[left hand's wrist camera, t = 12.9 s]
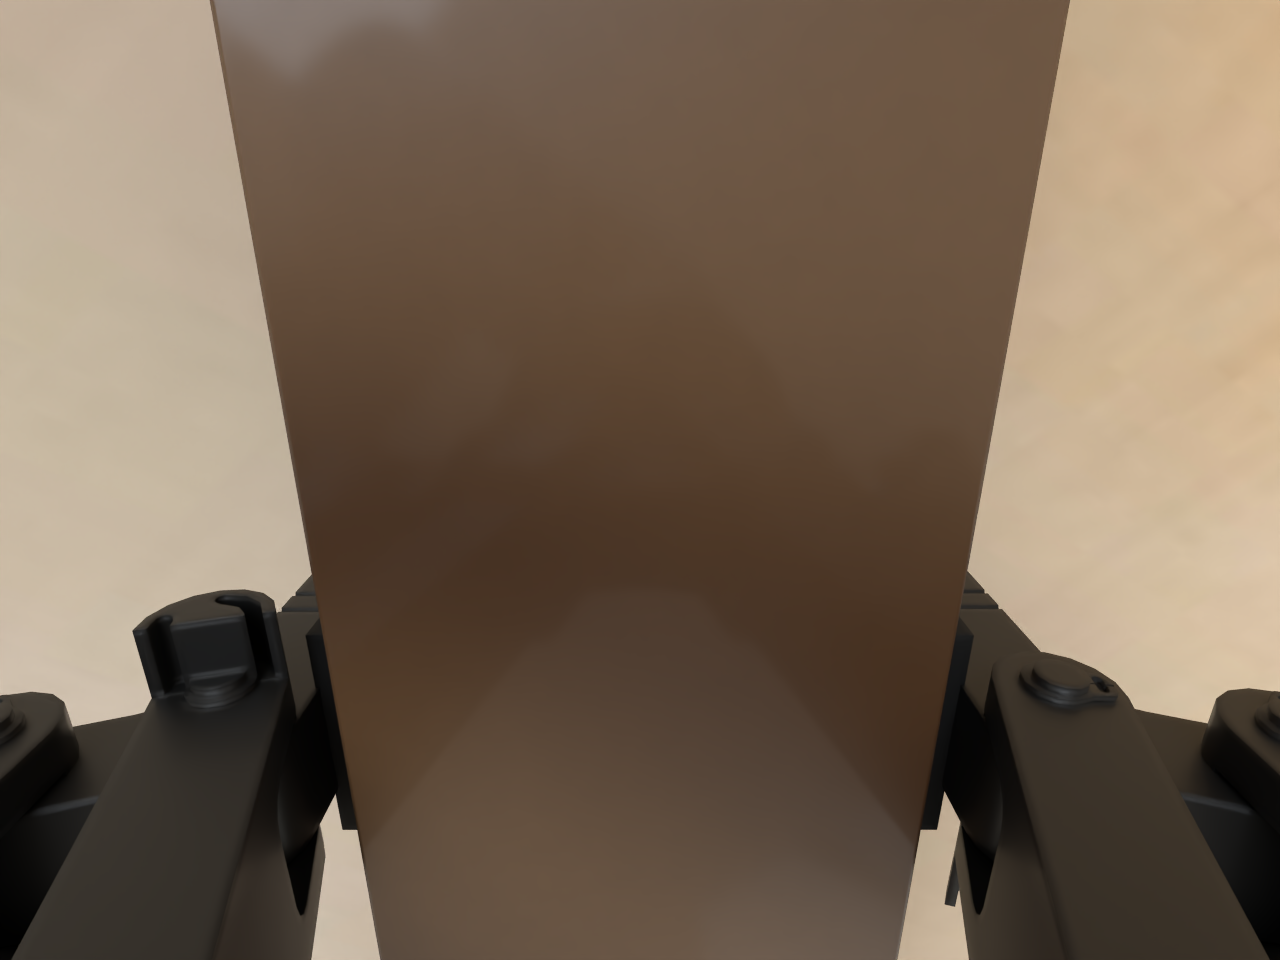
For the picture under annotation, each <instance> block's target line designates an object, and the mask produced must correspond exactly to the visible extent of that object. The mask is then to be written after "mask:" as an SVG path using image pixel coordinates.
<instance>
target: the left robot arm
mask: <svg viewBox="0 0 1280 960" xmlns="http://www.w3.org/2000/svg"><path fill="white" fill-rule="evenodd" d="M133 635H134V638H135V642H136V645H137V649H138V652H139V655H140V659H141V662H142V666H143V669H144V673H145V676H146V680H147V683H148V686H149V690H150V693H151V697H152V699H151V701H150V703H149V705H148V706H147V708H146V710H145V712H144V713H140V714H136V715H132V716H127V717H121V718H116V719H111V720H106V721H101V722H96V723H91V724H85V725H80V726H75V727H73V726H72V724H71V721H70V718H69V715H68V712H67V709H66V706H65V703H64V702H63V701H62V700H60V699H59V698H58V697H56V696H55V695H53V694H47V693H37V692H27V693H20V694H12V695H1V696H0V960H311V957H312V950H313V943H314V935H315V928H316V921H317V914H318V906H319V899H320V892H321V885H322V877H323V870H324V863H325V850H324V842H323V837H322V832H321V827H320V823H321V821H322V819H323V817H324V815H325V813H326V811H327V809H328V807H329V805H330V803H331V802H332V800H333V798H334V796H335V794H336V798H337V803H338V808H339V814H340V819H341V824H342V829H343V830H357V825H356V819H355V814H354V808H353V802H352V797H351V791H350V785H349V780H348V774H347V769H346V763H345V757H344V752H343V746H342V740H341V735H340V729H339V724H338V718H337V712H336V707H335V701H334V695H333V690H332V684H331V679H330V673H329V667H328V662H327V656H326V651H325V645H324V639H323V634H322V628H321V622H320V617H319V611H318V606H317V600H316V594H315V589H314V583H313V577H312V575H311V576H310V577H309V578H308V579H307V580H306V582H305V583H304V584H303V585H302V586H301V587H300V588H299V589H298V590H297V592H296V596H292V597H291V598H290V599H289V600H288V602H287V603H286V604H285V605H284V606H283V607H282V612H278V613H276V608H275V604H274V600H272V599H271V598H270V597H268V596H267V595H265V594H264V593H261V592H255V591H250V590H223V591H216V592H211V593H206V594H201V595H197V596H193V597H190V598H187V599H184V600H181V601H179V602H176V603H173V604H170V605H168V606H166V607H164V608H162V609H160V610H159V611H157V612H155V613H153V614H152V615H150V616H148V617H146V618H145V619H144V620H143V621H142V622H141V623H140V624H139V625H138V626H137V627H136V628H135V629H134V630H133ZM944 791H945V793H946V795H947V797H948V799H949V801H950V802H951V804H952V806H953V808H954V810H955V812H956V814H957V816H958V818H959V820H960V827H959V832H958V837H957V842H956V847H955V852H954V856H953V861H952V866H951V871H950V876H949V881H948V886H947V891H946V899H945V904H946V905H950V906H954V907H955V904H956V899H957V895H958V891H959V890H960V897H961V905H962V912H963V919H964V926H965V934H966V941H967V948H968V955H969V960H1280V692H1278V691H1265V690H1257V689H1250V688H1248V689H1238V690H1229V691H1226V692H1225V693H1224V694H1222V695H1221V696H1219V697H1218V698H1217V699H1216V701H1215V704H1214V707H1213V710H1212V713H1211V716H1210V719H1209V722H1208V724H1207V723H1202V722H1197V721H1192V720H1186V719H1181V718H1176V717H1171V716H1166V715H1160V714H1155V713H1150V712H1145V711H1141V710H1137V709H1134V707H1133V705H1132V703H1131V701H1130V700H1129V698H1128V696H1127V695H1126V694H1125V693H1124V692H1123V691H1122V689H1121V688H1120V687H1119V686H1118V685H1117V684H1116V682H1114V681H1113V680H1111V679H1110V678H1108V677H1107V676H1105V675H1104V674H1102V673H1101V672H1099V671H1097V670H1096V669H1094V668H1092V667H1089V666H1087V665H1085V664H1082V663H1080V662H1078V661H1075V660H1073V659H1070V658H1066V657H1062V656H1058V655H1054V654H1049V653H1045V652H1040V651H1039V650H1038V648H1037V647H1036V646H1035V645H1034V644H1033V643H1032V642H1031V641H1030V640H1029V639H1028V637H1027V636H1026V635H1025V634H1024V633H1023V632H1022V631H1021V630H1020V629H1019V627H1018V626H1017V625H1016V624H1015V623H1014V622H1013V621H1012V620H1011V619H1010V618H1009V616H1008V615H1007V614H1006V613H1005V612H1004V611H1003V610H1002V609H998V604H997V603H996V602H995V601H994V600H993V599H992V598H991V597H990V595H989V594H985V593H984V589H983V588H982V587H981V586H980V584H979V583H978V582H977V581H976V580H975V579H974V578H973V577H972V576H971V575H970V573H969V572H968V571H967V575H966V580H965V586H964V591H963V597H962V603H961V608H960V614H959V619H958V625H957V630H956V636H955V641H954V647H953V653H952V658H951V664H950V669H949V675H948V680H947V686H946V691H945V697H944V703H943V708H942V714H941V719H940V725H939V730H938V736H937V741H936V747H935V753H934V758H933V764H932V769H931V775H930V780H929V786H928V792H927V797H926V803H925V808H924V814H923V819H922V825H921V830H937V827H938V821H939V816H940V811H941V806H942V801H943V795H944Z"/></svg>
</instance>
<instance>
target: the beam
mask: <svg viewBox="0 0 1280 960" xmlns="http://www.w3.org/2000/svg"><path fill="white" fill-rule="evenodd" d="M1069 2H1070V0H210V4H211V10H212V15H213V21H214V26H215V32H216V38H217V43H218V49H219V55H220V60H221V66H222V71H223V77H224V83H225V88H226V94H227V100H228V105H229V111H230V116H231V122H232V128H233V133H234V139H235V145H236V150H237V156H238V161H239V167H240V173H241V178H242V184H243V189H244V195H245V201H246V206H247V212H248V218H249V223H250V229H251V234H252V240H253V246H254V251H255V257H256V263H257V268H258V274H259V279H260V285H261V291H262V296H263V302H264V308H265V313H266V319H267V324H268V330H269V336H270V341H271V347H272V353H273V358H274V364H275V369H276V375H277V381H278V386H279V392H280V398H281V403H282V409H283V414H284V420H285V426H286V431H287V437H288V442H289V448H290V454H291V459H292V465H293V471H294V476H295V482H296V487H297V493H298V499H299V504H300V510H301V516H302V521H303V527H304V532H305V538H306V544H307V549H308V555H309V561H310V566H311V572H312V577H313V583H314V589H315V594H316V600H317V606H318V611H319V617H320V622H321V628H322V634H323V639H324V645H325V651H326V656H327V662H328V667H329V673H330V679H331V684H332V690H333V695H334V701H335V707H336V712H337V718H338V724H339V729H340V735H341V740H342V746H343V752H344V757H345V763H346V769H347V774H348V780H349V785H350V791H351V797H352V802H353V808H354V814H355V819H356V825H357V830H358V836H359V842H360V847H361V853H362V859H363V864H364V870H365V875H366V881H367V887H368V892H369V898H370V903H371V909H372V915H373V920H374V926H375V932H376V937H377V943H378V948H379V954H380V960H897V958H898V953H899V947H900V942H901V936H902V930H903V925H904V919H905V914H906V908H907V903H908V897H909V892H910V886H911V880H912V875H913V869H914V864H915V858H916V853H917V847H918V842H919V836H920V830H921V825H922V819H923V814H924V808H925V803H926V797H927V792H928V786H929V780H930V775H931V769H932V764H933V758H934V753H935V747H936V741H937V736H938V730H939V725H940V719H941V714H942V708H943V703H944V697H945V691H946V686H947V680H948V675H949V669H950V664H951V658H952V653H953V647H954V641H955V636H956V630H957V625H958V619H959V614H960V608H961V603H962V597H963V591H964V586H965V580H966V575H967V569H968V564H969V558H970V553H971V547H972V541H973V536H974V530H975V525H976V519H977V514H978V508H979V502H980V497H981V491H982V486H983V480H984V475H985V469H986V464H987V458H988V452H989V447H990V441H991V436H992V430H993V425H994V419H995V414H996V408H997V402H998V397H999V391H1000V386H1001V380H1002V375H1003V369H1004V364H1005V358H1006V352H1007V347H1008V341H1009V336H1010V330H1011V325H1012V319H1013V314H1014V308H1015V302H1016V297H1017V291H1018V286H1019V280H1020V275H1021V269H1022V264H1023V258H1024V252H1025V247H1026V241H1027V236H1028V230H1029V225H1030V219H1031V213H1032V208H1033V202H1034V197H1035V191H1036V186H1037V180H1038V175H1039V169H1040V163H1041V158H1042V152H1043V147H1044V141H1045V136H1046V130H1047V125H1048V119H1049V113H1050V108H1051V102H1052V97H1053V91H1054V86H1055V80H1056V75H1057V69H1058V63H1059V58H1060V52H1061V47H1062V41H1063V36H1064V30H1065V25H1066V19H1067V13H1068V8H1069Z"/></svg>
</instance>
